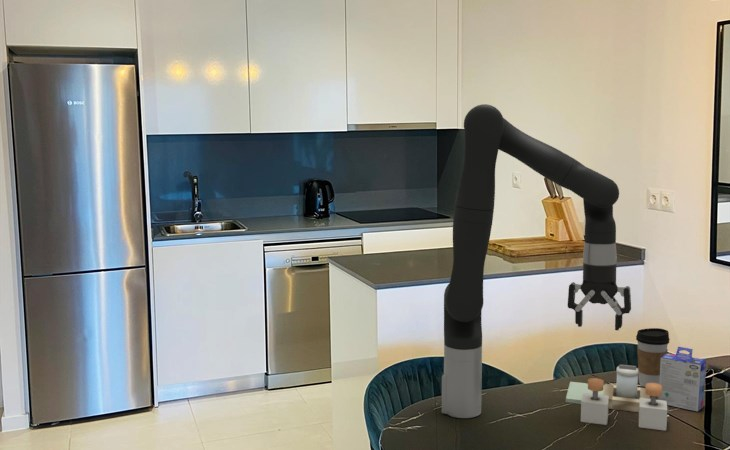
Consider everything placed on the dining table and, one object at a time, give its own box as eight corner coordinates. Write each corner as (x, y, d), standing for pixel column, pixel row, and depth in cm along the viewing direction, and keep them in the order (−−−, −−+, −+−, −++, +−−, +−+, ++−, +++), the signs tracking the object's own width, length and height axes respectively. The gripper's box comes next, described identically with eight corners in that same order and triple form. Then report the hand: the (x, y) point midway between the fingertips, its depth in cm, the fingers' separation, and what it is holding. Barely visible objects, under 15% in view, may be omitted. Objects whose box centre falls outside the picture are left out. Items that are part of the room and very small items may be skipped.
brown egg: (644, 411, 173) (645, 387, 172) (644, 406, 176) (645, 382, 175) (661, 413, 171) (662, 388, 171) (660, 408, 175) (662, 383, 174)
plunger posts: (580, 421, 176) (581, 401, 175) (582, 410, 183) (583, 391, 182) (666, 432, 169) (667, 411, 169) (665, 420, 176) (666, 400, 175)
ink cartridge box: (704, 405, 185) (707, 350, 183) (699, 412, 181) (702, 355, 179) (663, 397, 191) (666, 343, 189) (657, 404, 187) (660, 348, 185)
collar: (602, 408, 184) (602, 398, 184) (604, 392, 194) (604, 383, 194) (649, 413, 180) (650, 403, 180) (649, 397, 191) (649, 388, 190)
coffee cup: (672, 389, 196) (675, 335, 194) (640, 390, 196) (642, 335, 194) (660, 379, 204) (662, 326, 202) (629, 379, 204) (631, 326, 202)
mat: (565, 402, 188) (565, 398, 188) (570, 385, 200) (570, 381, 200) (602, 406, 185) (602, 402, 185) (604, 388, 197) (605, 385, 197)
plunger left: (586, 406, 176) (587, 382, 175) (587, 401, 180) (588, 377, 179) (602, 408, 175) (603, 384, 174) (603, 402, 178) (604, 379, 178)
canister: (615, 405, 186) (616, 367, 185) (615, 398, 191) (617, 361, 189) (637, 407, 184) (638, 370, 183) (637, 400, 189) (638, 363, 188)
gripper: (565, 262, 174) (565, 329, 176) (629, 265, 167) (628, 335, 170) (571, 256, 180) (571, 321, 183) (633, 260, 174) (631, 326, 176)
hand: (598, 327), depth 176 cm, fingers open, 8 cm apart
